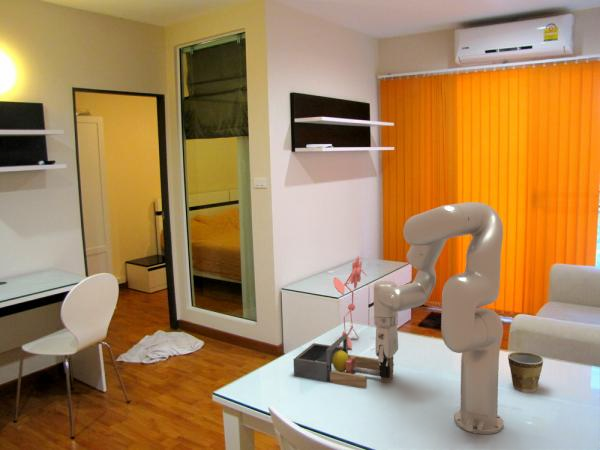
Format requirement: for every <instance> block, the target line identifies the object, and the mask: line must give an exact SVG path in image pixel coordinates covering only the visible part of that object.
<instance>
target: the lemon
mask: <svg viewBox="0 0 600 450" xmlns="http://www.w3.org/2000/svg"><path fill="white" fill-rule="evenodd" d="M348 355H349V354H348ZM348 355H347V353H346V352H344V351H342V350H340V351H337V352H336V353H335V354H334V356H333V363H332V365H333V369H335V371H337V372H346V361H347V360H348V359H349V358H348Z"/></svg>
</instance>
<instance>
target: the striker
mask: <svg viewBox="0 0 600 450" xmlns="http://www.w3.org/2000/svg"><path fill="white" fill-rule="evenodd" d="M355 356H356V355H355ZM355 356H351V357H350V358H349V359H348V360H347V361H346V370H345V373H350V374H357V373H358V374H364V375H369V376H374V377H375V376H376V377H380V371H379V370H372V369H366V368H360V367H356V357H355ZM384 356H385V355H384ZM383 359H384V360H385V361H386V359H385V358H383ZM388 366H390V377H389V378H384V377H380V382H385V383H391V382H392V381H393V379H394V355H393V356H392V357H391V358H389V364H388Z"/></svg>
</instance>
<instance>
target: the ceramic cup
mask: <svg viewBox="0 0 600 450" xmlns="http://www.w3.org/2000/svg"><path fill="white" fill-rule="evenodd" d="M507 360H508V365H509V369H510V375H511V381H512V387H513V389H514V390H515V391H517V392H521V393H525V394H532V393H534V392H536V391H537V389H538V385H539V381H540V376H541V373H542V369H543V365H544V357H542V356H540V355H539V354H537V353H534V352H533V353H532V352H528V351H513V352H510V353H509V354H508V355H507Z"/></svg>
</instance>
